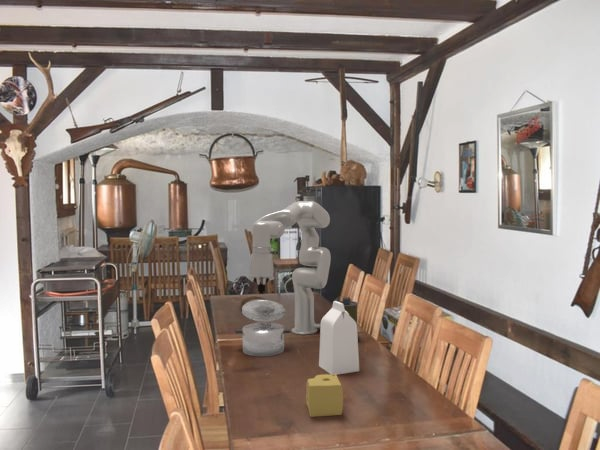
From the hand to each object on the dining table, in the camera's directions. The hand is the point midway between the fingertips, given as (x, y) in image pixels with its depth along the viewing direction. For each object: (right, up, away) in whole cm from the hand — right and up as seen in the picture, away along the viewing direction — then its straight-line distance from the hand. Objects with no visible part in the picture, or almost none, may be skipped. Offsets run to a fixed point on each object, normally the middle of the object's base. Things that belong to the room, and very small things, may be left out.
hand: (261, 293), depth 232 cm
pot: (+1, -25, +4) cm, 26 cm away
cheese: (+24, -30, -61) cm, 72 cm away
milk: (+32, -27, -21) cm, 47 cm away
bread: (-9, -21, +78) cm, 81 cm away
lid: (0, -9, +5) cm, 10 cm away
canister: (+38, -24, +18) cm, 49 cm away
